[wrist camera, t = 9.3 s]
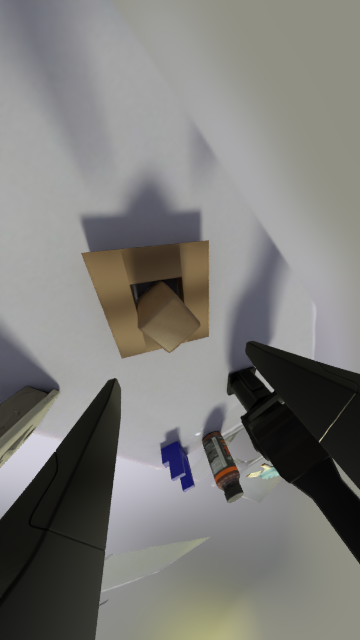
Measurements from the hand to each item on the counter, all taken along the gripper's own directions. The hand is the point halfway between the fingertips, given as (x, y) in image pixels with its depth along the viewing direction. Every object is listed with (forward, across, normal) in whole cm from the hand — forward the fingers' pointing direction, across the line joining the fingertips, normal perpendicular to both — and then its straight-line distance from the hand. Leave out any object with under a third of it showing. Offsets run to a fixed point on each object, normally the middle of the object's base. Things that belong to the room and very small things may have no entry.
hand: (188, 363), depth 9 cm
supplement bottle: (+11, -8, +42) cm, 44 cm away
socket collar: (+11, 0, -1) cm, 11 cm away
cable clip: (+12, +3, +43) cm, 44 cm away
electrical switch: (+11, +21, +11) cm, 26 cm away
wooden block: (+11, 0, -1) cm, 11 cm away
